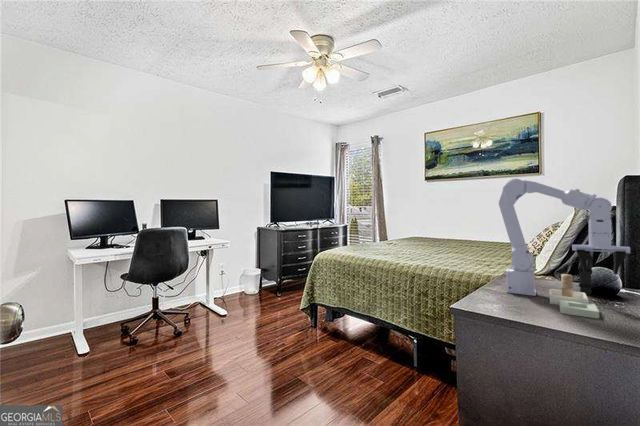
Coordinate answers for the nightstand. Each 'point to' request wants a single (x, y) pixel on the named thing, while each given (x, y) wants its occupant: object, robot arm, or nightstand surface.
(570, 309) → the holder
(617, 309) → the nightstand surface
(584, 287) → the magazine
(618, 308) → the nightstand surface
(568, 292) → the dowel
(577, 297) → the tray
